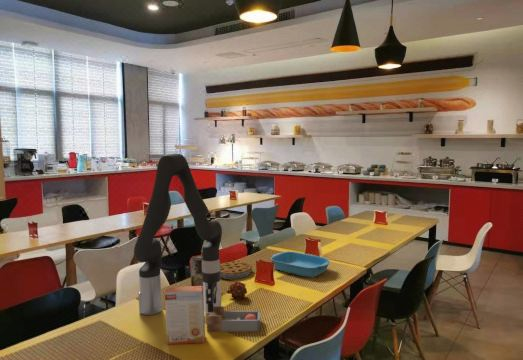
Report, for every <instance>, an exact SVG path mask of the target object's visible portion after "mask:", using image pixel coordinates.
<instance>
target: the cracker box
mask: <svg viewBox="0 0 523 360" xmlns="http://www.w3.org/2000/svg"><path fill="white" fill-rule="evenodd" d="M164 301H165V324H166V325H165V326H166V344H167V345H178V344H179V345H180V344H181V345H182V344H183V345H184V344H201V343H202V344H203V343H204V342H205V337H206V329H205V328H206V325H205V323H206V321H205V310H204V296H203V286H191V285H190V286H168V287H166V290H165V292H164Z"/></svg>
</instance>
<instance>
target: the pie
mask: <svg viewBox="0 0 523 360" xmlns="http://www.w3.org/2000/svg"><path fill="white" fill-rule="evenodd" d="M252 270H253V266H252V265H251V264H250V263H249V262H246V261H240V260H237V261H234V260H231V261H229V262H228V261H224V262H223V263H221V262H220V276H221V279H224V278H225V279H224V280H236V279H235V278H238V279H242V277H243V278H245V276H246V277H248V276H249V275H250V273H251V272H252ZM247 275H248V276H247Z"/></svg>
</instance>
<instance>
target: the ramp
mask: <svg viewBox="0 0 523 360" xmlns="http://www.w3.org/2000/svg"><path fill="white" fill-rule="evenodd" d="M213 309H214V311H213V312H210V314H206V332H223V331H222V320H225V319H226V317H224V311H225V306H222V305H221V306H218V307H213Z"/></svg>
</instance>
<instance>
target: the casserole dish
mask: <svg viewBox="0 0 523 360" xmlns="http://www.w3.org/2000/svg"><path fill="white" fill-rule="evenodd" d="M270 260H271V261H270V262H271V263H272V262H274V264H275V266H273V268H274V267H275V268H274V269H275V270H277V271H279V270H280V271H281V272H283V271H284V272H283V273H287V272H288V274H291V273H292V275H295V274H296V276H299V277H300V276H301V277H304V278H305V277H307V278H314V277H317V276H319V275H321V274H323V273H324V272H325V271H327V269H328V266H329V265H330V259H329V258H327V257H324V256H318V255H313V254H307V253H303V252H298V251H284V252H279V253H278V252H277V253H276V254H273V255H272V256H271V257H270Z"/></svg>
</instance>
